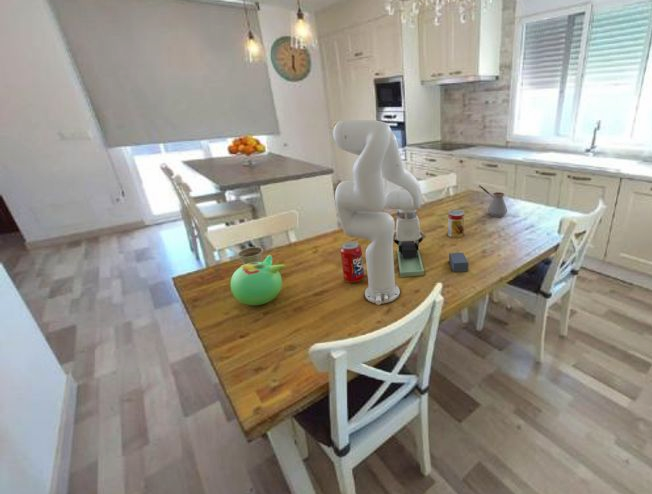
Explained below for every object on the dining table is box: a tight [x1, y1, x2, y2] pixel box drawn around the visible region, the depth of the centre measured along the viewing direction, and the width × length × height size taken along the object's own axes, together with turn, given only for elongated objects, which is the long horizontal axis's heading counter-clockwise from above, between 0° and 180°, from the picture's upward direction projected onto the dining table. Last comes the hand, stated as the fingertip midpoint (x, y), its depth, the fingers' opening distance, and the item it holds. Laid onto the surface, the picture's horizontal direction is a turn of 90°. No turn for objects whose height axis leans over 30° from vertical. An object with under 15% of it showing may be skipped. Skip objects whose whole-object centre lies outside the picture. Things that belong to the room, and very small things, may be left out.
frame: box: [396, 247, 425, 278], centre depth 138 cm, size 23×10×2 cm, turn 7°
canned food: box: [447, 209, 465, 239], centre depth 162 cm, size 8×8×12 cm
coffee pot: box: [478, 184, 508, 218], centre depth 190 cm, size 21×12×15 cm, turn 39°
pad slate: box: [448, 251, 469, 273], centre depth 134 cm, size 9×6×4 cm, turn 7°
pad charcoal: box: [401, 240, 417, 259], centre depth 141 cm, size 9×6×4 cm, turn 7°
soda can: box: [339, 241, 365, 284], centre depth 124 cm, size 8×8×15 cm
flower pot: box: [237, 246, 264, 265], centre depth 132 cm, size 9×9×9 cm
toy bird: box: [229, 254, 286, 306], centre depth 112 cm, size 18×17×15 cm
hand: (408, 251), depth 142 cm, fingers closed on pad charcoal, 5 cm apart
